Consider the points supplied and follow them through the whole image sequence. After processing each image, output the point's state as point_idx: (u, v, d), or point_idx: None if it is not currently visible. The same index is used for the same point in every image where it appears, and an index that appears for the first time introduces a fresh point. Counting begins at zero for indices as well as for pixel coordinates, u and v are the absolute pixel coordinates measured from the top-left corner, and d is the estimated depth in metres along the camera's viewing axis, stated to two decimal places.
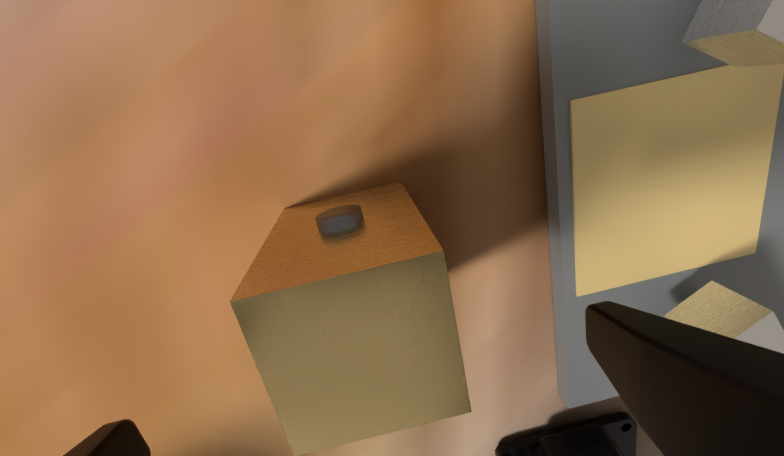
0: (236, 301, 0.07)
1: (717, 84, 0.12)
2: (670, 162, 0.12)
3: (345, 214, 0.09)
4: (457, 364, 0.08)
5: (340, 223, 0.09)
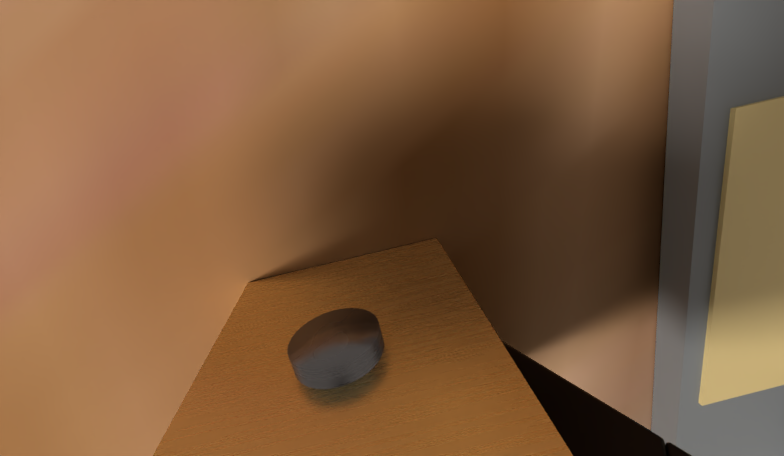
0: None
1: None
2: None
3: (348, 345, 0.04)
4: None
5: (338, 374, 0.04)
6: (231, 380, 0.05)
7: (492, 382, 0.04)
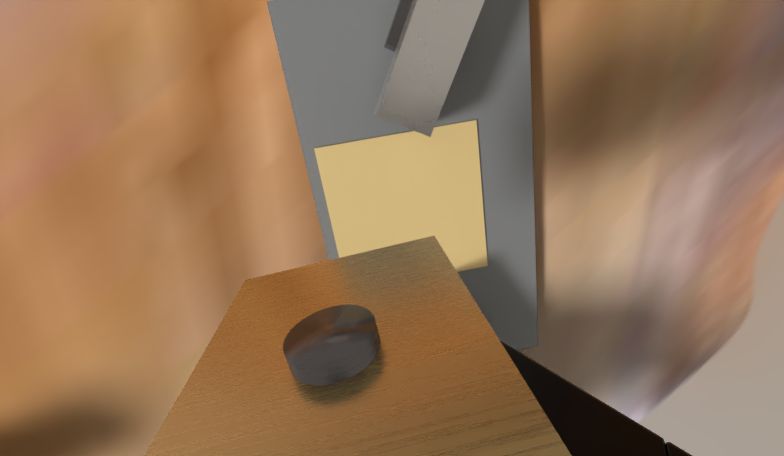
0: None
1: (426, 140, 0.16)
2: (402, 195, 0.17)
3: (344, 342, 0.04)
4: None
5: (333, 370, 0.04)
6: (226, 377, 0.05)
7: (488, 378, 0.04)
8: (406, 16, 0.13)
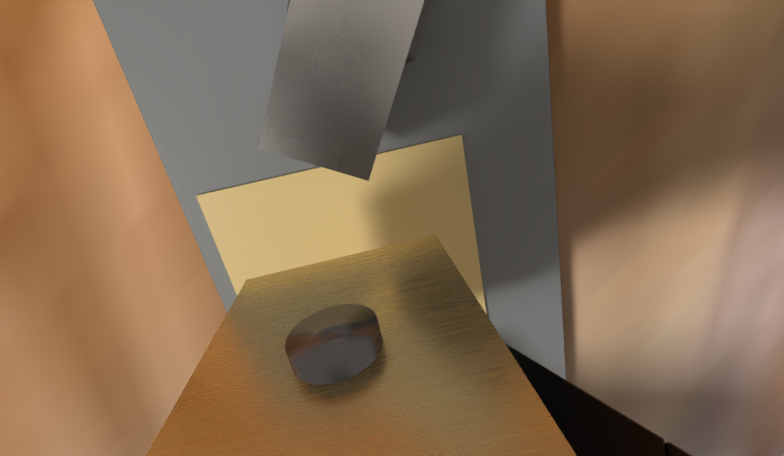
0: None
1: (382, 173, 0.10)
2: None
3: (346, 341, 0.04)
4: None
5: (335, 369, 0.04)
6: (228, 376, 0.05)
7: (491, 377, 0.04)
8: None
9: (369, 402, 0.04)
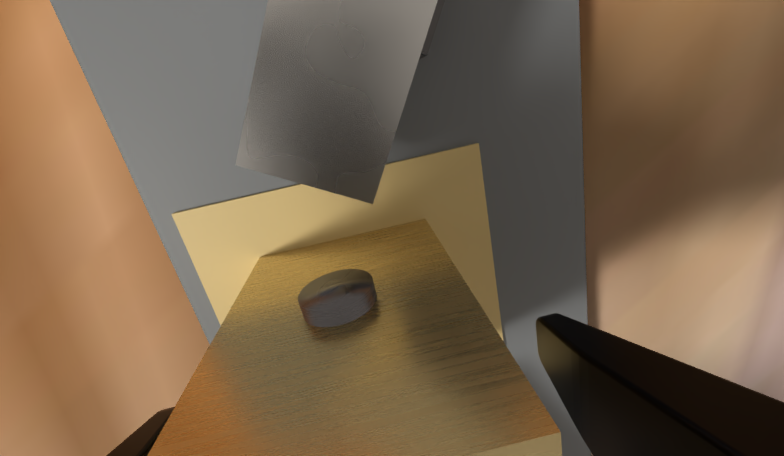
0: None
1: (387, 187, 0.08)
2: None
3: (347, 294, 0.06)
4: None
5: (339, 313, 0.05)
6: (251, 325, 0.06)
7: (460, 316, 0.05)
8: None
9: (365, 336, 0.05)
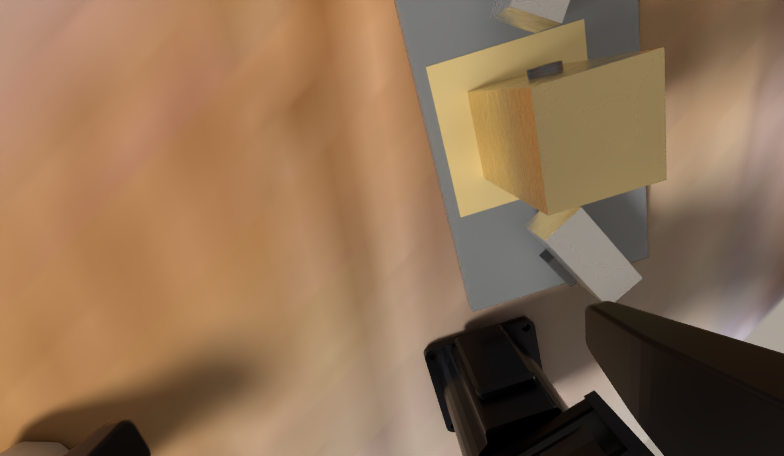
0: (534, 87, 0.10)
1: (535, 47, 0.16)
2: None
3: (553, 62, 0.13)
4: (662, 138, 0.11)
5: (554, 66, 0.13)
6: (506, 85, 0.13)
7: (609, 57, 0.12)
8: None
9: (570, 68, 0.12)
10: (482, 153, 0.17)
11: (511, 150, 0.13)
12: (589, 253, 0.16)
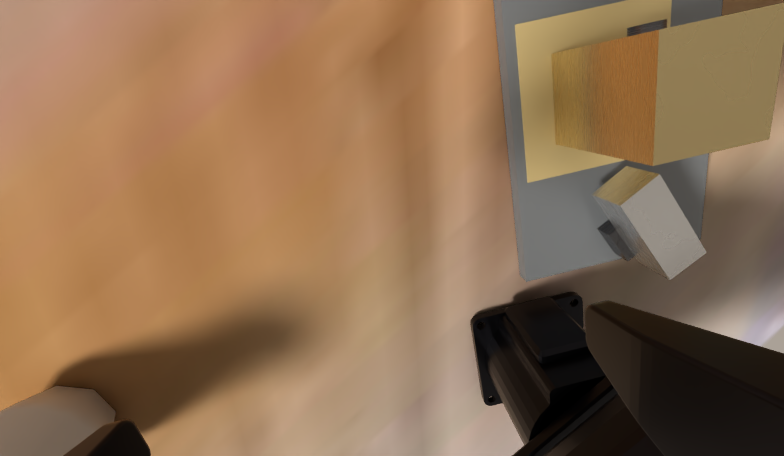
0: (662, 30, 0.11)
1: (622, 14, 0.16)
2: None
3: None
4: (772, 95, 0.12)
5: (661, 22, 0.13)
6: None
7: None
8: None
9: None
10: (559, 117, 0.17)
11: (609, 105, 0.13)
12: (660, 222, 0.16)
